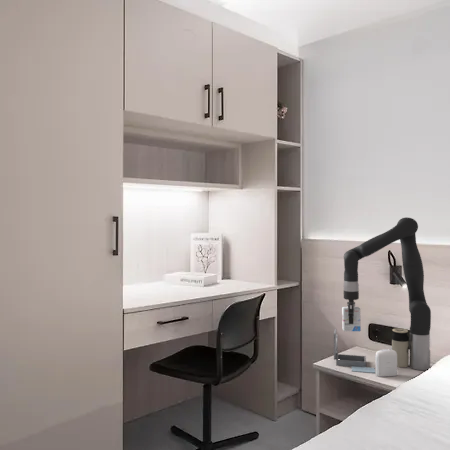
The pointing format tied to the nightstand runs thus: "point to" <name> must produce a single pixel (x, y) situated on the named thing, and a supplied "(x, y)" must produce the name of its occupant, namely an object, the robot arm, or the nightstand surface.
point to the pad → (363, 369)
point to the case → (347, 356)
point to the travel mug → (401, 346)
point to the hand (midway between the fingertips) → (351, 322)
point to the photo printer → (386, 363)
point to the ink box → (356, 320)
